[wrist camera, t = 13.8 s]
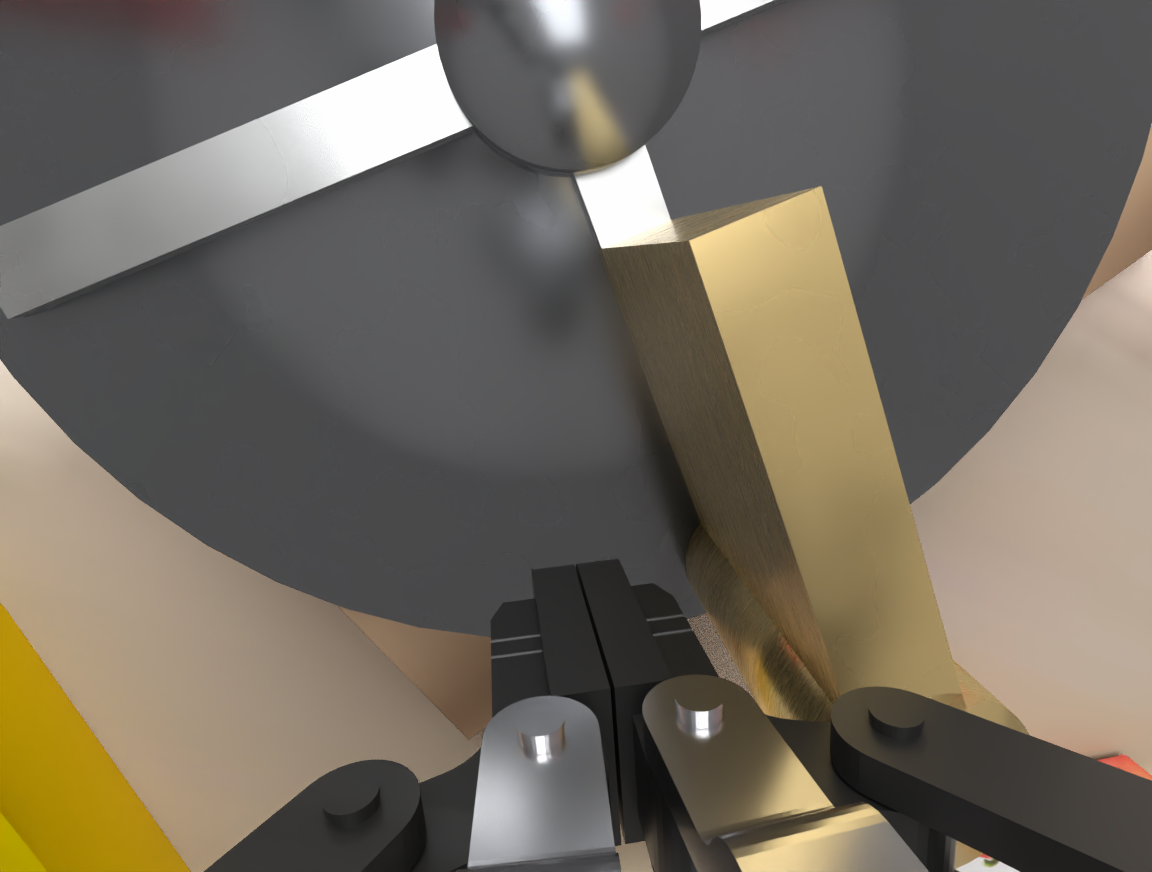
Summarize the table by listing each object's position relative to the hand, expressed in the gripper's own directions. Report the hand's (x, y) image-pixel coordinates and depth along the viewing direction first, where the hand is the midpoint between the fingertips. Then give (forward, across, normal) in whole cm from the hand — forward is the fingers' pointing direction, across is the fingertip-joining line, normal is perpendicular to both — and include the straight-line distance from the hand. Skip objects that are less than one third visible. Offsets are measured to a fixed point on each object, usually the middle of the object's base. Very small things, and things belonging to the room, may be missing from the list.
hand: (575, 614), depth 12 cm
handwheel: (+5, -1, -9) cm, 10 cm away
